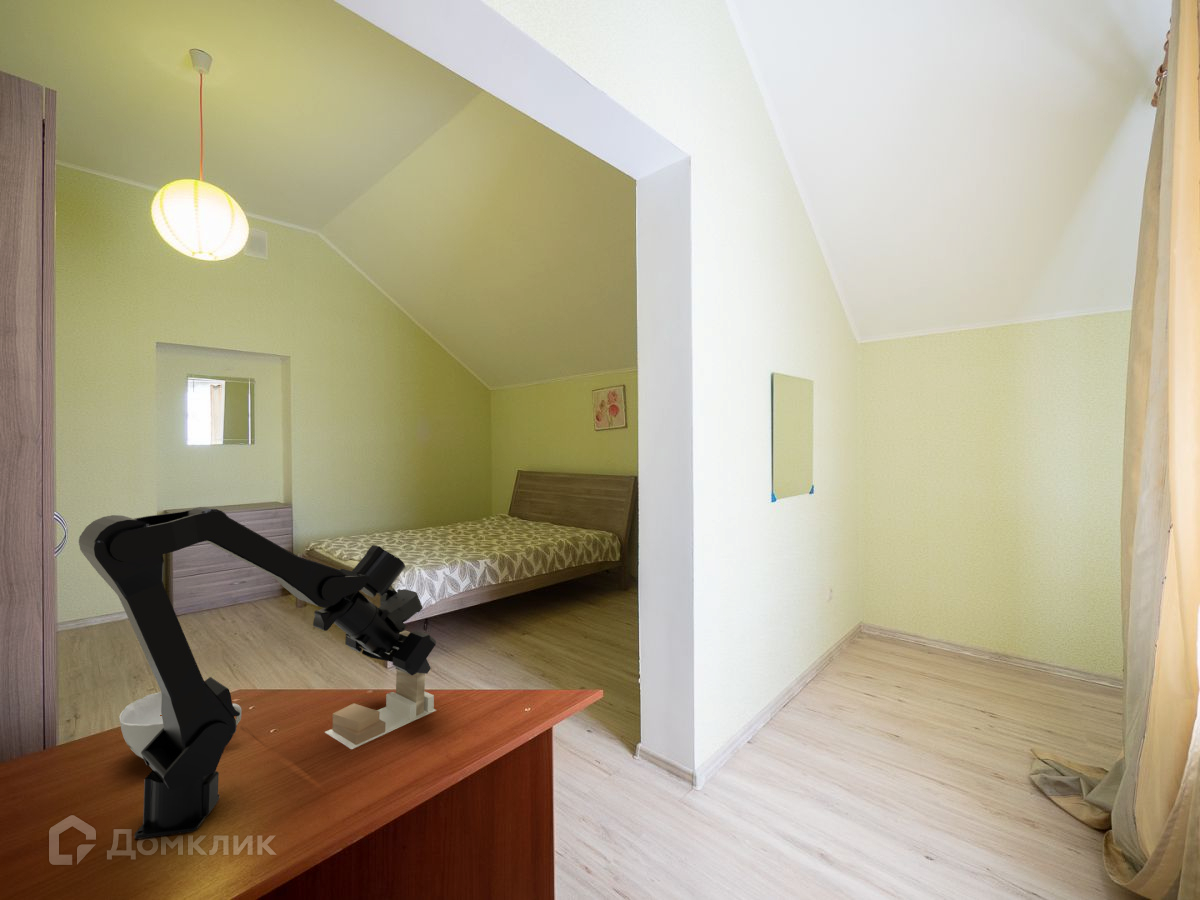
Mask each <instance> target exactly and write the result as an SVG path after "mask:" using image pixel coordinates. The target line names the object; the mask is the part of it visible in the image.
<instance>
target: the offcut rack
mask: <svg viewBox="0 0 1200 900" xmlns="http://www.w3.org/2000/svg"><path fill="white" fill-rule="evenodd" d="M385 698H386V699H385V704H386V705H385V706H384V707H382V708H380V709H377V710H376V709H373V708H369V707H367V706H363V705H360V704H357V703H355V702H354V703H352V704H350V705H349V704H348V706H346V707H345V706H344V708H341V709H340V710H337V711H335V712H333V713H332V728H331V729H329V730H326V731H324V733H325V734H326V735H328V736H330V737H331V738H333V739H334V740H336V741H338V742H339V743H341V744H342V745H344V746H345V747H347V748H348V749H350V750H353V749H356V748H358V747H360V746H361V745H362V746H363V745H364V744H366V743H369V742H370V741H373V740H375V739H377V738H379V737H382V736H384V735H386V734H389V733H390V732H392V731H394V730H397V729H399V728H401V727H403V726H405V725H407V724H409V723H412V722H415V721H416V720H418V719H421V718H424V717H425V716H427V715H429V714H432V713H433V712H436V711H437V709H435V708H434V705H435V701H434V698H435V695H434V694H431V693H429V692H428V691H424V712H423V713H421V714H419V715H416V703H415V702H413V701H411V700H409V699H407V698H405V697H403V696H401V695H399V694H397V693H396V692H394V691H391V692H388V693H386V697H385Z"/></svg>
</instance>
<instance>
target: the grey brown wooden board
mask: <svg viewBox="0 0 1200 900" xmlns="http://www.w3.org/2000/svg"><path fill="white" fill-rule="evenodd" d="M410 632H411V631H408V630H403V632H400V633H399V634H401V635H404V636H408V635H409V634H410ZM398 641H399V640H398ZM395 678H396V680H395V681H396V682H395V683H396V684H395V693H397V694H399V695H401V696H403V697H405V698H407V699H409V700H411V701H413V702H415V703H416V715H419V714H421V713H423V712H424V691H425V689H426V688H425V687H426V686H425V685H426V683H425V682H426V674H425V673H416V674H414V675H409V674H407V673H405V672H402V671H400V670H398V669H396V677H395ZM425 692H426V691H425Z"/></svg>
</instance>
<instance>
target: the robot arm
mask: <svg viewBox="0 0 1200 900" xmlns="http://www.w3.org/2000/svg"><path fill="white" fill-rule="evenodd" d="M203 542H206V543H208V544H210V545H212V546H214V547H215V548H218V549H220V550H221V551H224V552H225V553H228V554H229V555H231V556H233V557H235V558H237V559H239V560H241V561H242V562H245V563H247V564H248V565H251V566H253V567H254V568H256V569H258V570H260V571H263V572H264V573H266V574H268V575H270V576H271V577H273V579H275V580H276V581H277V582H278V583H279V584H280V585H281V586H282V587H283V588H284V589H285V590H287V591H288V592H289V593H290V594H291V595H293V596H294V597H295V598H296V599H298V600H300V601H303V602H305V603H308V604H310V605H314V606H316V607H320V608H321V609H318V610H317V609H316V610H315V611H314V612H313V613H314V618H313V622H312V626H313V627H314V628H317V629H320V630H322V631H324V632H327V631H329V629H331V627H332V626H333V625H334V624H335V625H336V626H337V627H338V628H339V629H341V630H342V631H343V632H344V633H345V634H344V635H345V640H344V642H345V643H344V644H345V646H347V647H348V648H349V649H350V650H352V651H355V652H357V653H359V654H360V653H361V654H362V655H364V656H366V657H368V658H371V659H375V660H381V661H386V662H389V663H392V665H393V666H394V667H395V670H397V669H398V670H400V671H402V672H405V673H407V674H409V675H414V674H416V673H425V675H427V674H428V673H429V672H430V671H431V669H432V668H431V665H430V664H429V662H428V660H427V658H428V657H429V656H430V654H431V653H432V652H433V650H434V648H435V647H436V644H437V641H436V640H435V639H434V638H433V637H432V636H431V635H430V634H428V633H424V632H422V631H419V630H414V631H409V632H410V634H409V635H408V636H404V635H401V634H399V633H400V632H403V631H405V629H406V628H407V625H406V624H405V622H407V621H408V620H409V619H411V618H412V617H413V616H415V614H417V613H419V612H421V611H422V610H423V608H424V607H423V605H422V602H421V600H420V597H419V595H418V592H417V591H413V590H410V589H400V588H398V589H397V590H395V589H392V588H391V587H392V585H393V584H394V583H395V582H396V580H398V579H397V578H399V576H400V575H401V574H402V573H403V571H404V570H405V568H406V565H405V563H404V561H403V560H402V559H401V558H400V557H397V556H395V555H394V554H392V553H390V552H389V551H387V550H386V549H384V548H383V547H382V546H379V545H375V544H372V545H371V546H370V547H369V548H368V550H367V551H366V553H365V555H364V556H363V557H362V558H361V560H360V561H359V562H358V563H357V564H356V566H355V567H354V568H353V569H352V570H349V569H345V568H339V569H338V568H335V567H331V566H329V565H327V564H323V563H320V562H318V561H313V560H311V559H307V558H303V557H301V556H298V555H296V554H295V553H293V552H291V551H289V550H287V549H285V548H284V547H282V546H280V545H278V544H277V543H275V542H274V541H271V540H270V539H268V538H266V537H265V536H263V535H260V534H259V533H258V532H256V531H254V530H252V529H250V528H248V527H247V526H245V525H243V524H241V523H240V522H238V521H236V520H234V519H232V518H231V517H229V516H228V515H227V514H226V513H225V511H222V510H221V509H217V508H212V507H207V506H198V507H195V508H192V509H188V510H182V511H176V512H169V513H160V514H155V515H145V516H141V517H136V518H135V517H134V518H132V517H129V516H125V515H115V514H113V515H106V516H102V517H99V518H97V519H95V520H93V521H92V522H91V523H89V524H88V525H87V526H85V528H84V530H83V531H82V532H81V534H80V535H79V537H78V545H79V549H80V552H81V553H82V555H83V556H84V558H86V560H87V561H88V562H89V564H90V565H91V566H92V567H93V568H94V569H95V571H96V573H98V575H99V576H100V577H101V578H102V579H103V580H104V581H105V583H107V585H108V586H109V587H110V588H111V589H112V590H113V592H114V593H115V594H116V595H117V597H118V598H119V600H120V603H121V605H122V608H123V610H124V611H125V614H126V616H127V618H128V620H129V623H130V625H131V627H132V630H133V631H134V634H135V635H136V638H137V641H138V643H139V645H140V647H141V649H142V652H143V654H144V656H145V659H146V661H147V662H148V665H149V667H150V669H151V672H152V674H153V676H154V679H155V680H156V683H157V685H158V687H159V690H160V692H161V694H162V703H161V714H162V719H163V725H164V727H163V729H162V730H161V731H160V732H159V733H158V734H157V735H156V736H155V737H154V738H153V739H152V741H151V742H150V743H149V744H148V745H147V746H146V747H145V748H144V749H143V750H142V752H141V755H142V757H143V758H142V759H143V761H144V762H145V765H146V766H147V767H149V768H151V769H152V771H150V773H149V774H148V775H147V776H146V777H144V780H143V782H144V784H143V785H144V787H143V812H142V813H143V814H142V815H143V817H142V824H141V826H139V828H138V829H137V830H136V831H135V832H134V839H138V840H139V839H143V838H144V839H146V838H153V837H154V838H155V837H160V836H167V835H169V836H170V835H176V834H185V833H191V832H192V833H193V832H195V831H197V830H198V829H199V827H200V826H201V825H202V824H203V822H204V821H205V819H206V818H207V816H208V815H209V814H210V813H212V811H213V809H214V808H215V806H216V805H217V803H218V802H219V800H220V794H219V779H220V776H219V772H218V771H217V768H218V766H219V763H220V760H221V758H222V756H223V753H224V750H225V749H226V747H227V745H228V744H229V743H230V742H231V741H232V738H233V736H234V734H235V733H236V732H237V726H238V724H237V725H236V716H239V715H240V713H239V712H238V711H236V710H235V708H234V707H233V705H232V704H233V701H232V695H231V692H230V689H229V688H228V687H227V686H225V685H224V684H222V683H221V682H220V681H217V680H216V679H214V678H213V677H212V676H210V677H208V678H207V679H205V680H204V677H203V675H202V673H201V671H200V668H199V667H198V666H199V665H198V663H197V660H196V658H195V657H194V654H193V652H192V649H191V647H190V645H189V642H188V640H187V638H186V636H185V632H184V631H183V628H182V626H181V623H180V621H179V619H178V616H177V614H176V612H175V611H176V610H175V608H174V607H173V605H172V602H171V600H170V597H169V595H168V593H167V591H166V588H165V586H164V585H165V584H164V572H165V571H164V565H165V559H164V555H165V554H166V555H167V554H170V553H173V552H177V551H180V550H182V549H183V550H184V549H185V548H188V547H191V546H193V545H196V544H199V543H203ZM360 591H361V592H360ZM364 594H365V595H367V596H368V597H371V598H375V597H376V596H377V595H379V597H380V600H379V601H380V602H379V603H380V606H379V607H378V606H377V605H375V604H374V603H373V602H372V601H370V599H369V598H367V597H366V596H365V595H364ZM398 640H399V641H398Z"/></svg>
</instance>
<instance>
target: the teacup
mask: <svg viewBox="0 0 1200 900" xmlns="http://www.w3.org/2000/svg"><path fill="white" fill-rule="evenodd" d="M161 703H162V694H161V691H159V692H156V693H151V694H147V695H145V696H144V697H143V698H138V699H137V700H135V701H132V702H131V703H130V704H127V705H126V706H125V708H124V709H123V710H122V711H121V713H120V714H119V717H118V719H119V724H120V730H121V734H122V737H123V739H124V741H125V744H126V745H127V746H128V748H129V749H130V750H131V751H132V753H134V754H135V756H137V757H139V758H141V759H143V757H142V755H141V752H142V750H143V749H144V748H145V747H146V746H147V745H148V744H149V743H150V742H151V741H152V739H153V738H154V737H155V736H156V735H157V734H158V733H159V732H160V731H161V730H162V729H163V727H164V725H163V719H162V716H160V715H162V714H161ZM232 705H233V707H234V708H235V710H236V711H238V712H239V713H240V715H239V716H235V720H236V725H237V726H238V724H239V722H240V721H241V720H242V710H243V709H242V707H241V706H240V705H239V704H237V703H232Z"/></svg>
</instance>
